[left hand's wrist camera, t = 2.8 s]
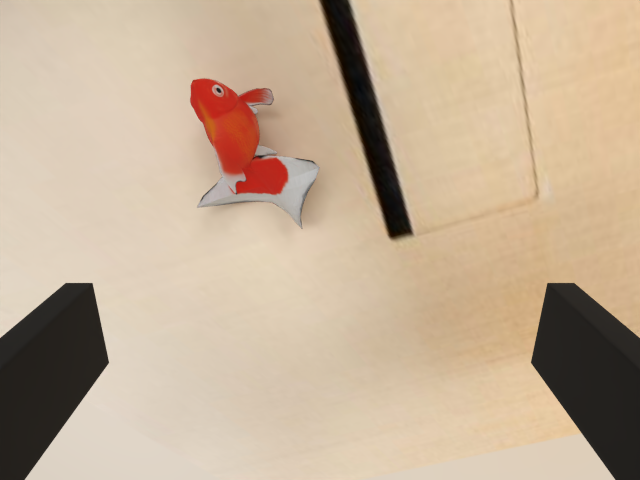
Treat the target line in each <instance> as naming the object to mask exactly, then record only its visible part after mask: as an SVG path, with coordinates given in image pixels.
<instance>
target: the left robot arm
mask: <svg viewBox="0 0 640 480" xmlns="http://www.w3.org/2000/svg"><path fill="white" fill-rule="evenodd" d="M108 363H109V361H108V356H107V351H106V346H105V341H104V336H103V332H102V327H101V322H100V317H99V312H98V308H97V303H96V298H95V293H94V288H93V283H65V284H64V285H63V286H62V287H61V288H59V289H58V290H57V291H56V292H55V293H54V294H52V295H51V296H50V297H49V298H48V299H46V300H45V301H44V302H43V303H42V304H40V305H39V306H38V307H37V308H36V309H34V310H33V311H32V312H31V313H30V314H28V315H27V316H26V317H25V318H24V319H22V320H21V321H20V322H19V323H18V324H17V325H15V326H14V327H13V328H12V329H11V330H9V331H8V332H7V333H6V334H5V335H3V336H2V337H1V338H0V480H25V478H26V477H27V476H28V474H29V473H30V471H31V470H32V469H33V467H34V466H35V465H36V463H37V462H38V460H39V459H40V458H41V456H42V455H43V453H44V452H45V451H46V449H47V448H48V447H49V445H50V444H51V442H52V441H53V440H54V438H55V437H56V435H57V434H58V433H59V431H60V430H61V428H62V427H63V426H64V424H65V423H66V422H67V420H68V419H69V417H70V416H71V415H72V413H73V412H74V410H75V409H76V408H77V406H78V405H79V404H80V402H81V401H82V399H83V398H84V397H85V395H86V394H87V392H88V391H89V390H90V388H91V387H92V386H93V384H94V383H95V381H96V380H97V379H98V377H99V376H100V374H101V373H102V372H103V370H104V369H105V368H106V366H107V365H108ZM531 363H532V365H533V366H534V368H535V369H536V370H537V372H538V373H539V374H540V376H541V377H542V379H543V380H544V381H545V383H546V384H547V386H548V387H549V388H550V390H551V391H552V392H553V394H554V395H555V397H556V398H557V399H558V401H559V402H560V404H561V405H562V406H563V408H564V409H565V410H566V412H567V413H568V415H569V416H570V417H571V419H572V420H573V422H574V423H575V424H576V426H577V427H578V428H579V430H580V431H581V433H582V434H583V435H584V437H585V438H586V440H587V441H588V442H589V444H590V445H591V447H592V448H593V449H594V451H595V452H596V453H597V455H598V456H599V458H600V459H601V460H602V462H603V463H604V464H605V466H606V467H607V469H608V470H609V471H610V473H611V474H612V476H613V477H614V478H615V480H640V338H639V337H638V336H637V335H635V334H634V333H633V332H632V331H631V330H629V329H628V328H627V327H626V326H625V325H623V324H622V323H621V322H620V321H619V320H618V319H616V318H615V317H614V316H613V315H612V314H610V313H609V312H608V311H607V310H606V309H604V308H603V307H602V306H601V305H600V304H598V303H597V302H596V301H595V300H594V299H592V298H591V297H590V296H589V295H588V294H586V293H585V292H584V291H583V290H582V289H581V288H579V287H578V286H577V285H576V284H575V283H547V288H546V293H545V298H544V303H543V308H542V312H541V317H540V322H539V327H538V332H537V336H536V341H535V346H534V351H533V356H532V361H531Z"/></svg>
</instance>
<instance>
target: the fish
mask: <svg viewBox="0 0 640 480" xmlns="http://www.w3.org/2000/svg"><path fill="white" fill-rule="evenodd" d="M273 100H274V98H273V94H272V91H271V90H270V89H267V88H262V89H253V90H250V91H248V92H246V93H243V94H241V95H239V96H237V94H236V93H235V92H234V91H233V90H231V89H230V88H228V87H227V86H225V85H223V84H222V83H220V82H218V81H215V80H211V79H205V78H204V79H197V80H193V82H192V84H191V98H190V102H191V105H192V107H193V108H194V110H195V112H196V114H197V116H198V118H199V119H200V121H201V122H203V124H204V127H205V130H206V133H207V136H208V138H209V140H210V142H211V144H212V145H213V147H214V149H215V153H216V156H217V160H218V165H219V169H220V173H221V175H222V177H221V179H220V180H219V181H218V182H217V184H216V185H215V186H213V187H212V188H211V189H210V190H209V191H208V192H207V193H206V194H205V195H204V196H203V197H202V199H201V201H200V203H199V204H198V206H197V208H198V207H208V206H218V205H225V204H232V203H240V202H253V201H261V202H272V203H274V204H275V205H277V206H279V207H280V208H282V209H283V210H285V211H286V212H287V213H288V214H289V215H290V216H291V217H292V219H293V220H294V221H295V222H296V223H297V224H298V225H299V226H300V227H301V228H302V223H301V217H300V216H301V211H302V206H303V203H304V200H305V198H306V195H307V193H308V191H309V189H310V188H311V186H312V184H313V183H314V181H315V179H316V176H317V173H318V170H319V166H318V165H317V164H315V163H314V162H313V161H310V160H304V159H297V158H291V157H282V156H265V155H269V154H277V152H276V151H274V150H272V149H270V148H267V147H265V146H261V145H258V143H259V135H260V134H259V126H258V121H257V118H256V116H255V114H257V113H258V111H257V109H256V108H254V107H252V106H254V105H259V104H264V105H271V104H272V102H273ZM254 155H255V156H256V157H254Z"/></svg>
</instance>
